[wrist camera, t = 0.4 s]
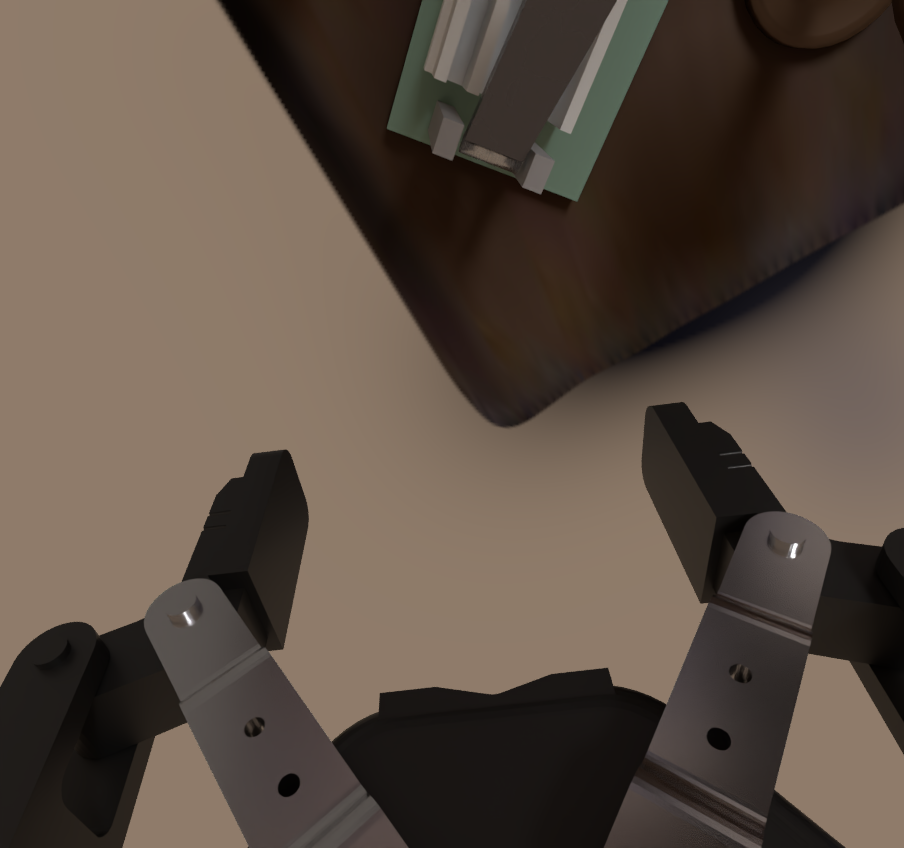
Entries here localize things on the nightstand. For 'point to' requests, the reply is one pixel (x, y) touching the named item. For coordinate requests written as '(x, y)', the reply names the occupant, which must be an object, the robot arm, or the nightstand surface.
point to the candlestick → (818, 19)
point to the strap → (531, 77)
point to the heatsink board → (550, 136)
